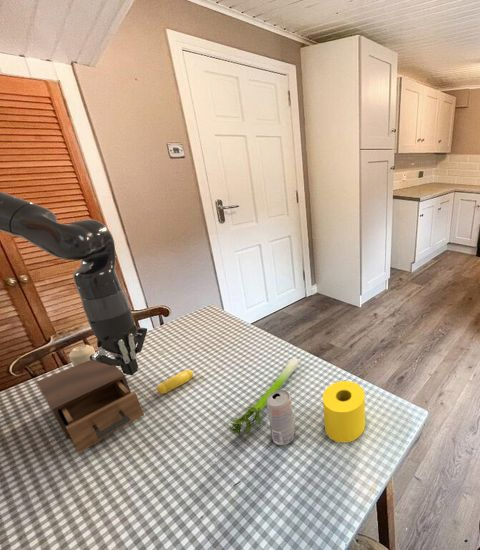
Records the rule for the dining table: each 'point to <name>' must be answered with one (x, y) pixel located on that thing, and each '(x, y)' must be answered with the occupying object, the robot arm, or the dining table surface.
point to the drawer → (101, 414)
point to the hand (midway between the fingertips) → (131, 372)
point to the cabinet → (77, 386)
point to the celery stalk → (263, 400)
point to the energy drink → (281, 417)
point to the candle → (81, 354)
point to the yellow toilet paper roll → (344, 411)
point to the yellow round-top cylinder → (175, 381)
